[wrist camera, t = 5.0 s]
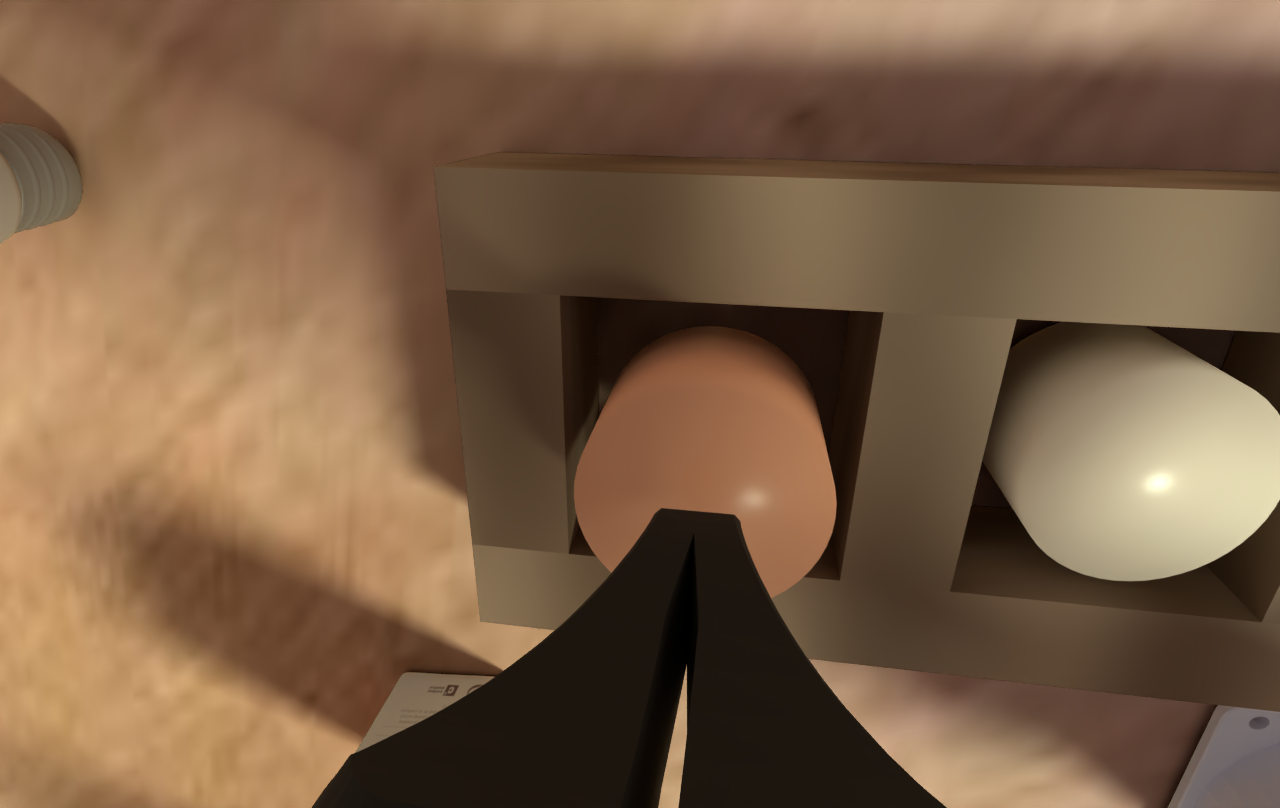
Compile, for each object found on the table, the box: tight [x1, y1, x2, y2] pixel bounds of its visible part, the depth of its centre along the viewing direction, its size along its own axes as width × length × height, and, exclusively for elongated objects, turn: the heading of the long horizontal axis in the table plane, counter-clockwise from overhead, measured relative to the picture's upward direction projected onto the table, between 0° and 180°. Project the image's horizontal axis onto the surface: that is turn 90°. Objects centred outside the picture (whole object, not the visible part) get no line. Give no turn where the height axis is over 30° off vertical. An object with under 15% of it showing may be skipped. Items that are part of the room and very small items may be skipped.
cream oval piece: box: [982, 322, 1280, 581], centre depth 16 cm, size 5×5×4 cm
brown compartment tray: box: [434, 152, 1280, 712], centre depth 17 cm, size 21×12×4 cm, turn 90°
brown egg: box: [574, 326, 837, 598], centre depth 15 cm, size 5×5×4 cm
